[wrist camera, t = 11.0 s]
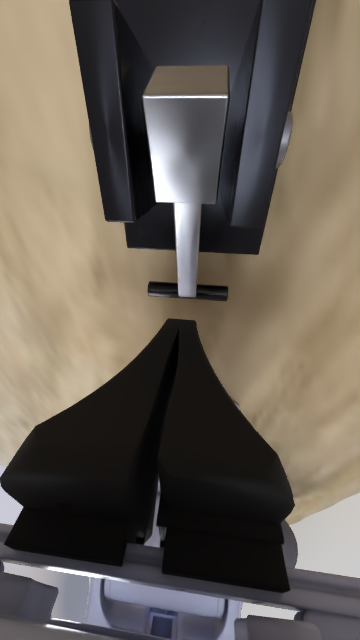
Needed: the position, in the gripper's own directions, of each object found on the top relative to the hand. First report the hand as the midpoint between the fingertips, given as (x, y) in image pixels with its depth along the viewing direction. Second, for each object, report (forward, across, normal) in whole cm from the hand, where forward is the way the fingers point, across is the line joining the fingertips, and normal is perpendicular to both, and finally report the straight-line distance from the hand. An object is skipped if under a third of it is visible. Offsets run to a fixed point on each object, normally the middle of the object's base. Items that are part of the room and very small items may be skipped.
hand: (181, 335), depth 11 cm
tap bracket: (+8, 0, -8) cm, 11 cm away
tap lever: (+3, 0, -5) cm, 6 cm away
